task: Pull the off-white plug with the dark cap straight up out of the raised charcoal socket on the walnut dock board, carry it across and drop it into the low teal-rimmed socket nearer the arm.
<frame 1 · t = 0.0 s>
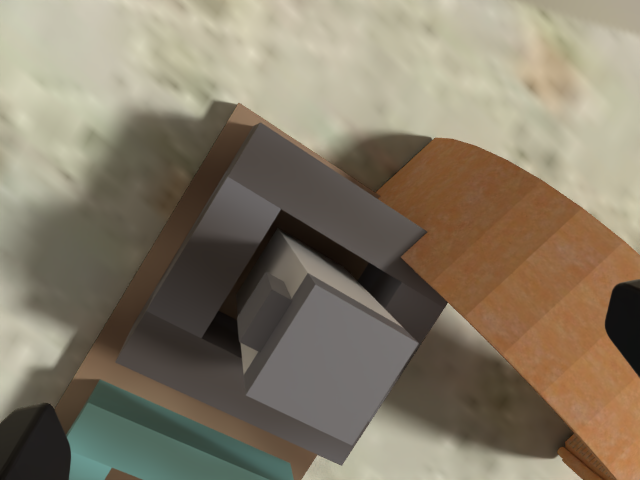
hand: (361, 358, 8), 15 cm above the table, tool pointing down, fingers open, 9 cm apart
dock: (217, 387, 24), on the table
arch: (504, 315, 26), on the table, touching dock
plug: (290, 280, 22), point 1 cm above the table, touching dock
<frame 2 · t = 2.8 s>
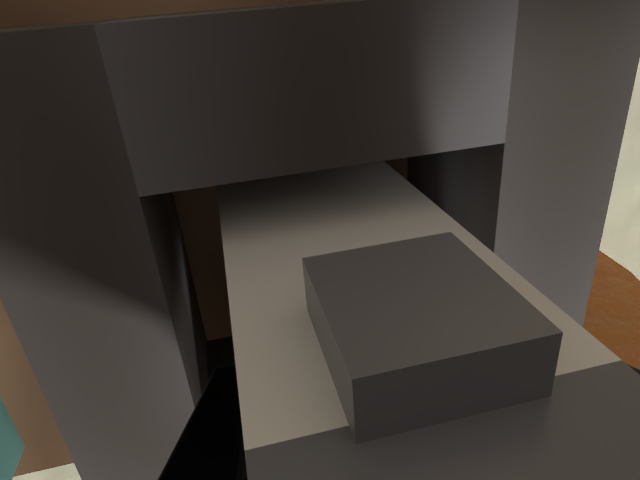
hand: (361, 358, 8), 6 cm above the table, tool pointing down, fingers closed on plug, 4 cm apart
dock: (31, 255, 12), on the table
arch: (425, 469, 19), on the table, touching dock
plug: (300, 228, 12), point 1 cm above the table, touching dock, gripper
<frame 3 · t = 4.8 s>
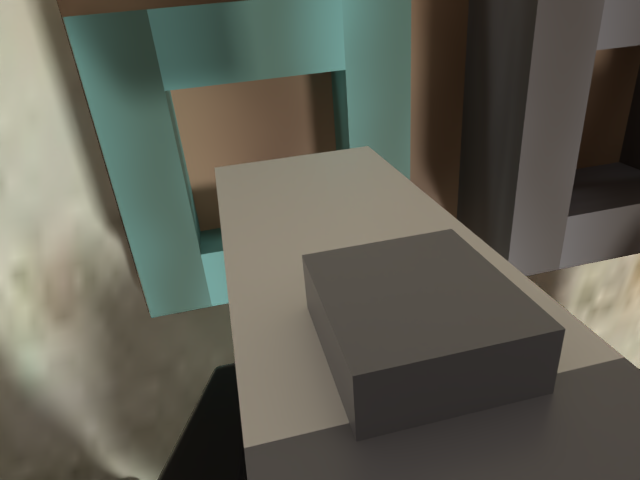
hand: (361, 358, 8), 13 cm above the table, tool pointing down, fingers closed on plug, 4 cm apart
dock: (416, 122, 20), on the table
plug: (300, 227, 12), point 8 cm above the table, touching gripper
when the fingers open (7 cm above the table, at t = 6.8 s): plug stays where it is, resting on dock.
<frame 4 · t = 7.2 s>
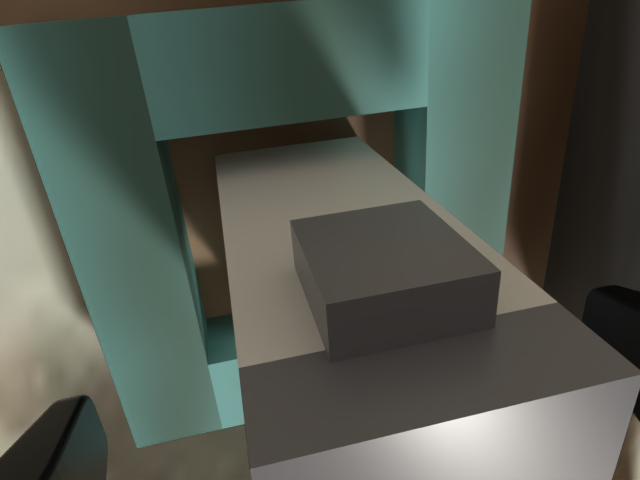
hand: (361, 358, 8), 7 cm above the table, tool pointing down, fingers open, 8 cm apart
dock: (497, 166, 15), on the table
plug: (294, 211, 13), point 1 cm above the table, touching dock
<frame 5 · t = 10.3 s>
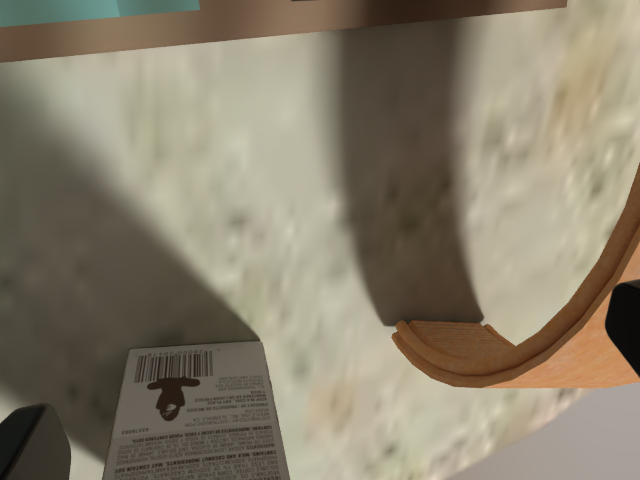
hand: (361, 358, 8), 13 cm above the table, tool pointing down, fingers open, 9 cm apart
arch: (503, 149, 21), on the table, touching dock
coffee box: (196, 411, 24), on the table
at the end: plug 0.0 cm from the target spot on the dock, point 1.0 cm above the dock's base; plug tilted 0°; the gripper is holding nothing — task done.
